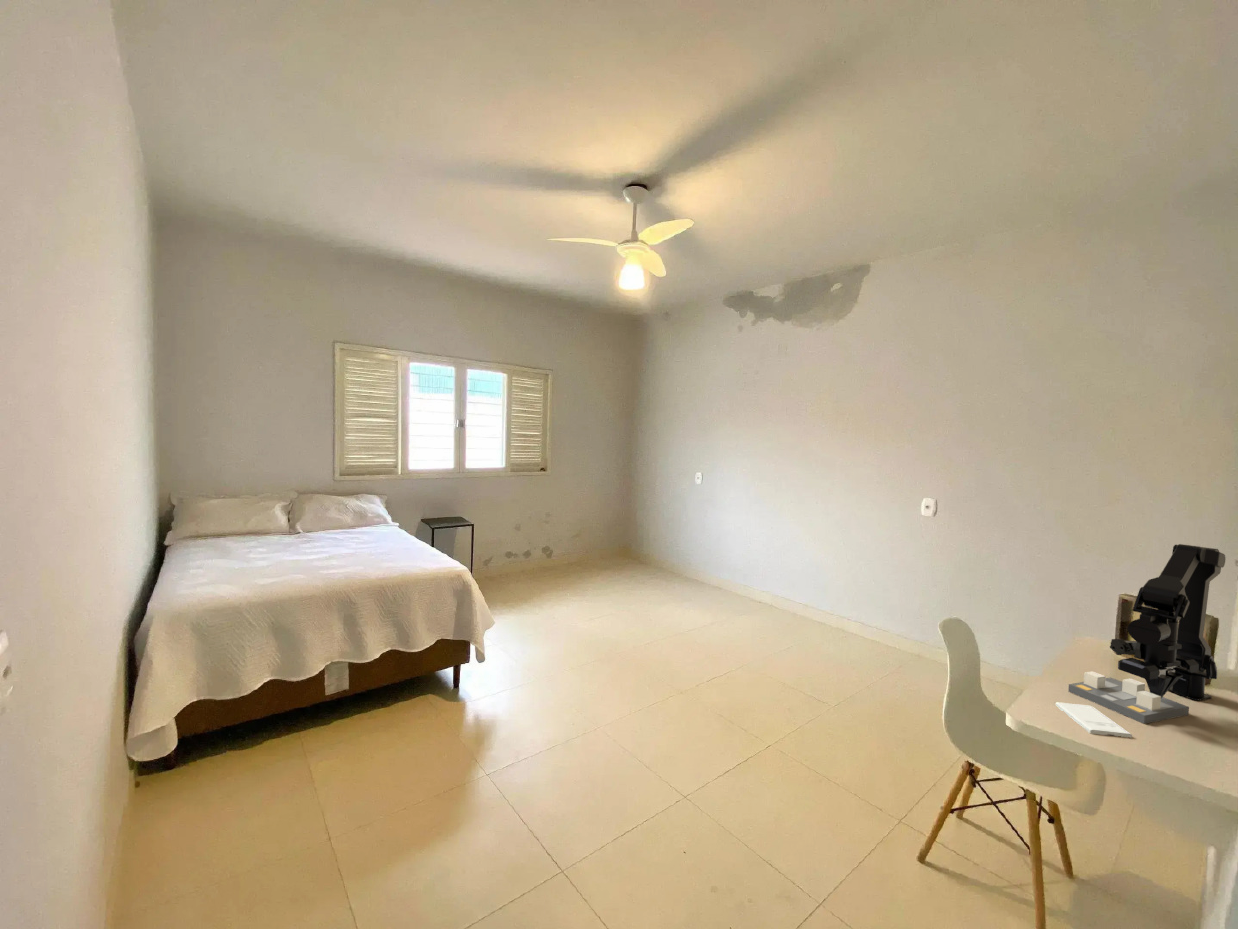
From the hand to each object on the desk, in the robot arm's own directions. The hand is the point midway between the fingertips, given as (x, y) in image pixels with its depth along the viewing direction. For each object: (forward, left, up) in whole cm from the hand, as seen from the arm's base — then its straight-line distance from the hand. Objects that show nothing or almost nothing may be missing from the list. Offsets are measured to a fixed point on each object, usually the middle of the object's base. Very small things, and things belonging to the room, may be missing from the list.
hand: (1156, 699), depth 125 cm
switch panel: (0, -6, -4) cm, 7 cm away
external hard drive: (+19, -2, -5) cm, 20 cm away
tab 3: (+3, 0, -1) cm, 3 cm away
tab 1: (+3, -11, -1) cm, 12 cm away
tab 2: (-2, -6, -1) cm, 6 cm away
